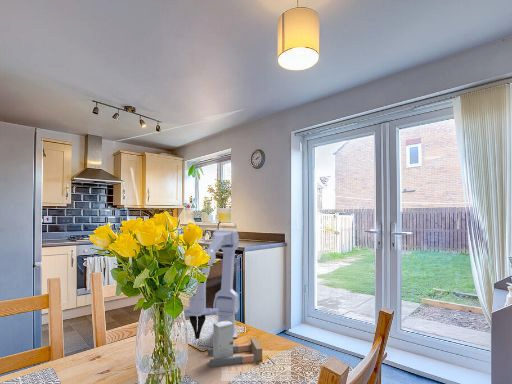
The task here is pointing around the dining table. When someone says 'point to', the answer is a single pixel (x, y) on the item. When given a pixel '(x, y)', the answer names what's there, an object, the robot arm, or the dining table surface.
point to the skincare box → (222, 339)
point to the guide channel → (252, 347)
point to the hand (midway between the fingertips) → (197, 337)
